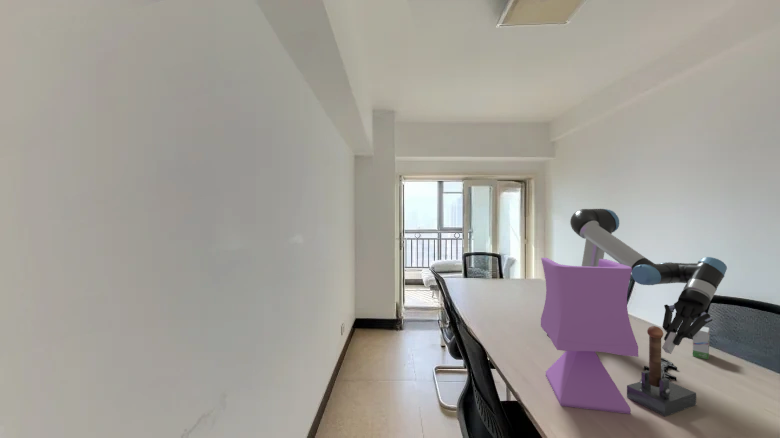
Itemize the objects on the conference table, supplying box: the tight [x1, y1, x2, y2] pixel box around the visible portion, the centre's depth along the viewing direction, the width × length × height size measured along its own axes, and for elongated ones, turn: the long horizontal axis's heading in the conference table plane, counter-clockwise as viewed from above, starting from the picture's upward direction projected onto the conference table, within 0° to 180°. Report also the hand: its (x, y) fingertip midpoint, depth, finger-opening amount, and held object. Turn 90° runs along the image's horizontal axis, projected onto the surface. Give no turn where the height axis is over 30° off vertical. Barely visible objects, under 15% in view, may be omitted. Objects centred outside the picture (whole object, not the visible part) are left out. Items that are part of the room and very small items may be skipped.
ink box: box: [692, 326, 710, 360], centre depth 139 cm, size 8×5×12 cm, turn 133°
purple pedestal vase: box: [540, 257, 639, 415], centre depth 110 cm, size 22×22×45 cm
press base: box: [626, 370, 697, 417], centre depth 105 cm, size 11×16×9 cm
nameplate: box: [643, 356, 678, 382], centre depth 124 cm, size 28×2×10 cm
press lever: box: [646, 325, 664, 387], centre depth 104 cm, size 4×4×19 cm
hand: (666, 350), depth 106 cm, fingers closed
